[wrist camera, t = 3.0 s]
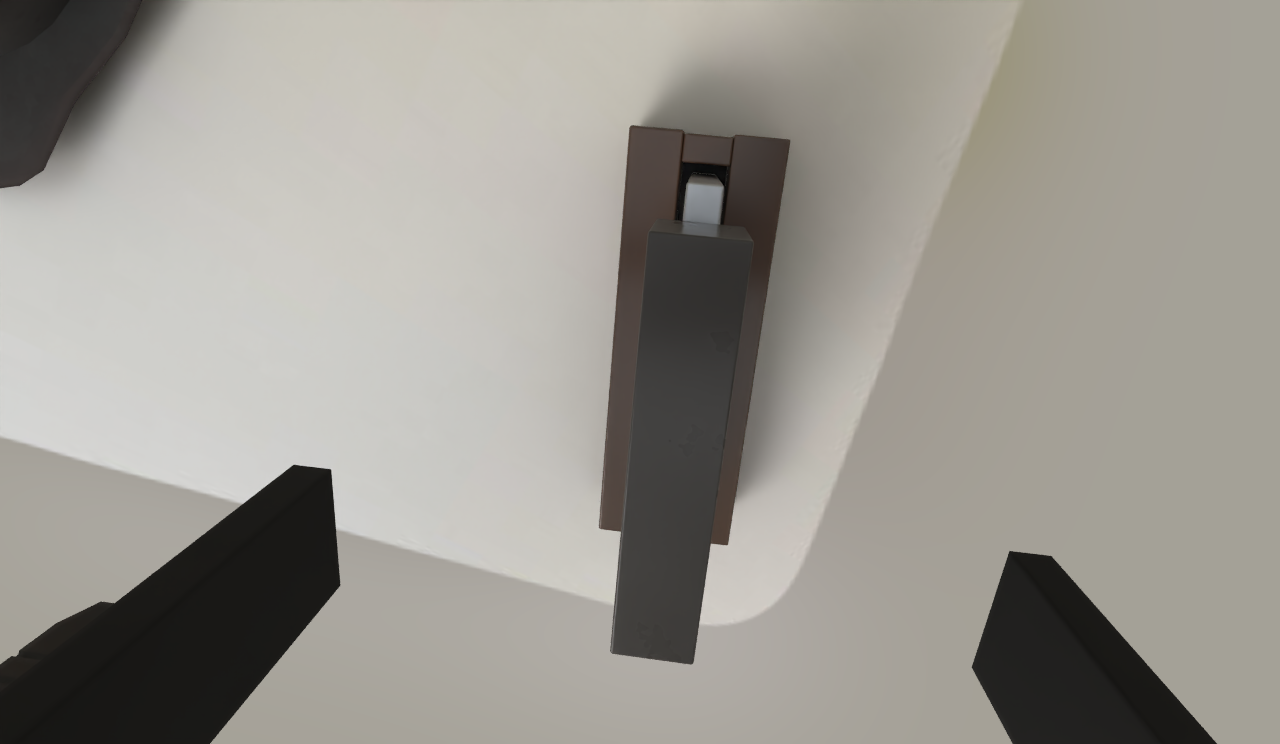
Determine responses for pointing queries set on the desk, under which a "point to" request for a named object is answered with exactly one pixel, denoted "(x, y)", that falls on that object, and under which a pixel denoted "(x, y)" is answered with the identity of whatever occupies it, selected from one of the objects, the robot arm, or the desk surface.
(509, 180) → the desk surface
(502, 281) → the desk surface
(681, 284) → the knife
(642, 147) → the knife stand
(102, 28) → the casserole
